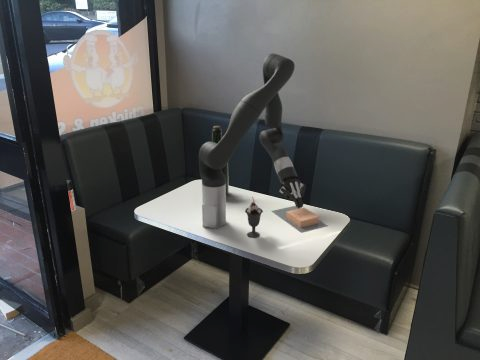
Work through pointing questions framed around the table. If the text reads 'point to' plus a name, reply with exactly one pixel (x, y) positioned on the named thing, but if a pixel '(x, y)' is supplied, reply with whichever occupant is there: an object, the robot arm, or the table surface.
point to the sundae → (253, 218)
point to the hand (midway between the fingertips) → (300, 207)
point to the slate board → (282, 215)
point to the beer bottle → (216, 138)
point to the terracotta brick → (302, 217)
